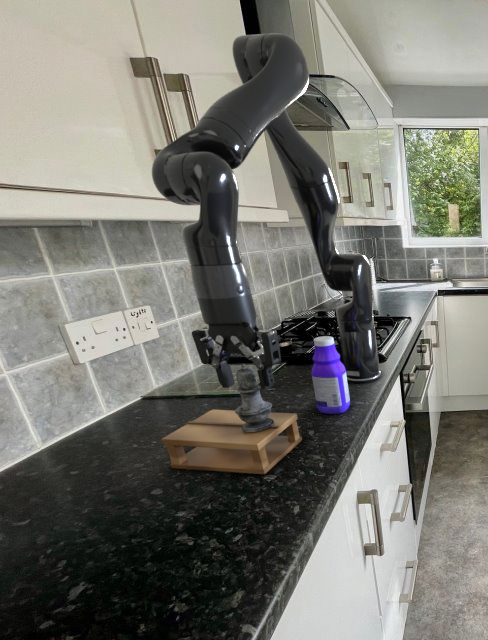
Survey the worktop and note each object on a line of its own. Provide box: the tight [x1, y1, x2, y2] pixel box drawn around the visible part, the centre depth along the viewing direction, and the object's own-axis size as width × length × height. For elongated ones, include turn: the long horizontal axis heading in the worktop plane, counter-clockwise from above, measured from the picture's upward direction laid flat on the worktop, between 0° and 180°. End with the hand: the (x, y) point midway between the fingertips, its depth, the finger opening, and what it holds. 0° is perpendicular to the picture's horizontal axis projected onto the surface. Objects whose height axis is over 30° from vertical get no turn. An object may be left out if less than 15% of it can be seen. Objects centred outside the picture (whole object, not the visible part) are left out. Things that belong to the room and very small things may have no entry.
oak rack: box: [160, 409, 303, 475], centre depth 77 cm, size 12×18×6 cm, turn 84°
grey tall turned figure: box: [234, 363, 274, 432], centre depth 73 cm, size 6×6×12 cm
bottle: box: [310, 335, 351, 415], centre depth 92 cm, size 7×6×17 cm
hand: (248, 386), depth 72 cm, fingers open, 7 cm apart
